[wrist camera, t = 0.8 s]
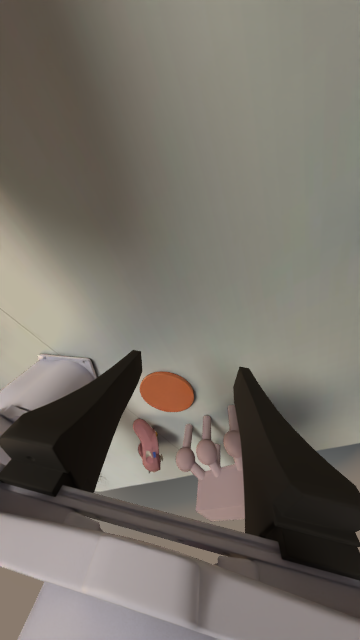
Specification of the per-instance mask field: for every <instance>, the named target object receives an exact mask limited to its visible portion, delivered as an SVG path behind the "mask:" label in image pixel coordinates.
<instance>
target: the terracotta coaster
mask: <svg viewBox="0 0 360 640" xmlns="http://www.w3.org/2000/svg"><path fill="white" fill-rule="evenodd" d="M140 393H141V396H142V397H143V399H144V400H145V401H146V402H147V403H148V404H149V405H151V406H152V407H154V408H156V409H159V410H162V411H166V412H179V411H183V410H185V409H187V408H189V407H190V406H191V405H192V403H193V400H194V391H193V388H192V386H191V385H190V384H189V382H188V381H186V380H185V379H184V378H182V377H181V376H179V375H176V374H173V373H170V372H154V373H151V374H149V375H147V376H146V377H145V378H144V379H143V380H142V382H141V385H140Z"/></svg>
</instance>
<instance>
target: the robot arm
mask: <svg viewBox="0 0 360 640" xmlns="http://www.w3.org/2000/svg"><path fill="white" fill-rule="evenodd" d="M37 357H38V359H39V361H37V362H36V363H35V364H33V365H32V366H31V367H30V368H28V369H27V370H26V371H24V372H23V373H22V374H21V375H19V376H18V377H17V378H16V379H14V380H13V381H12V382H10V383H9V384H8V385H7V386H5V387H4V388H3V389H2V390H1V392H0V566H1V567H3V568H6V569H9V570H12V571H15V572H18V573H21V574H24V575H27V576H30V577H33V578H36V579H39V580H41V581H44V584H43V586H42V589H41V591H40V593H39V595H38V597H37V599H36V601H35V604H34V606H33V608H32V610H31V612H30V614H29V616H28V618H27V621H26V623H25V625H24V627H23V629H22V631H21V633H20V636H19V637H18V640H360V552H359V550H358V548H357V547H360V542H359V540H358V538H357V536H356V533H355V532H357V531H359V530H360V493H359V491H358V489H357V488H356V486H355V485H354V484H352V483H351V482H350V481H349V480H348V479H347V478H346V477H344V476H343V475H342V474H341V473H340V472H339V471H337V470H336V469H335V468H334V467H333V466H331V465H330V464H329V463H328V462H327V461H326V460H325V459H324V458H323V457H322V456H320V455H319V454H318V453H317V452H316V451H315V450H314V449H313V448H312V447H311V446H310V445H309V444H308V443H307V442H306V441H305V440H304V439H303V438H302V437H301V436H300V435H299V434H298V433H297V432H296V431H295V430H294V429H293V428H292V427H291V425H290V424H289V423H288V422H287V421H286V420H285V419H284V417H283V416H282V415H281V414H280V413H279V411H278V410H277V409H276V408H275V406H274V405H273V404H272V402H271V401H270V400H269V398H268V397H267V395H266V394H265V392H264V391H263V390H262V388H261V387H260V385H259V384H258V382H257V380H256V379H255V377H254V376H253V374H252V372H251V371H250V369H249V368H244V367H239V370H238V374H237V377H236V380H235V383H234V387H233V388H234V403H235V410H236V416H237V421H238V427H239V433H240V440H241V452H242V466H243V483H244V506H245V533H243V532H239V531H235V530H232V529H227V528H224V527H220V526H216V525H213V524H209V523H205V522H201V521H197V520H193V519H190V518H186V517H182V516H178V515H174V514H170V513H167V512H163V511H159V510H155V509H152V508H148V507H144V506H140V505H136V504H133V503H129V502H125V501H121V500H117V499H114V498H110V497H106V496H102V495H99V494H95V493H94V491H95V488H96V484H97V481H98V478H99V475H100V472H101V469H102V466H103V464H104V461H105V458H106V455H107V452H108V449H109V447H110V444H111V441H112V439H113V436H114V434H115V431H116V428H117V426H118V423H119V421H120V418H121V416H122V414H123V412H124V410H125V408H126V406H127V404H128V402H129V400H130V398H131V396H132V394H133V392H134V390H135V388H136V386H137V384H138V382H139V379H140V376H141V373H142V360H141V351H136V350H133V351H131V352H130V353H129V354H128V355H126V356H125V357H124V358H123V359H122V360H120V361H119V362H118V363H117V364H115V365H114V366H113V367H111V368H110V369H109V370H107V371H106V372H105V373H103V374H102V375H100V376H99V377H98V378H97V376H96V374H95V371H94V368H93V365H92V362H91V360H90V359H88V358H79V357H68V356H58V355H47V354H39V355H38V356H37ZM85 516H86V517H85ZM88 517H89V518H88ZM90 518H93V519H97V520H100V521H104V522H108V523H111V524H114V525H118V526H122V527H125V528H129V529H133V530H136V531H139V532H143V533H147V534H150V535H154V536H157V537H161V538H164V539H168V540H171V541H175V542H178V543H182V544H185V545H189V546H193V547H196V548H200V549H203V550H207V551H211V552H214V553H218V554H221V555H225V556H228V557H225V556H219V557H218V563H217V564H214V565H212V564H210V563H207V562H205V561H202V560H199V559H197V558H194V557H191V556H188V555H185V554H182V553H180V552H177V551H174V550H171V549H167V548H164V547H161V546H158V545H154V544H151V543H147V542H144V541H140V540H136V539H132V538H128V537H124V536H120V535H115V534H110V533H105V532H103V531H102V530H101V528H100V524H99V522H96V521H94V520H92V519H90Z"/></svg>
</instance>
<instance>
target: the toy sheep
mask: <svg viewBox="0 0 360 640" xmlns="http://www.w3.org/2000/svg"><path fill="white" fill-rule="evenodd" d="M228 416H229V426H230V431H228V432H227V433H226V434H225V436H224V440H223V442H224V447H225V450H226V451H227V453H228V454H229V455H230V456H232V457H234V461H235V464H233V465H229V466H225V467H220V445H219V444H214V443H213V442H212V441H211V417H210V416H208V415H206V416H204V417H203V433H202V440H201V441H200V442H199V443H198V445H197V449H196V453H197V457H198V459H199V460H200V462H201V463H203V464H205V465H208V466H209V467H210V469H211V470H209V471H204V470H203V469H202V468H201V467H200V466H199V465H198V464H197V463H196V462H195V456H194V453H193V451H192V450H191V440H192V430H193V426H192V425H191V424H187V425H186V427H185V434H184V440H183V447H182V448H181V449H180V450H179V451H178V452H177V455H176V464H177V466H178V468H179V469H180V470H181V471H184V472H188V471H191V472H192V473H193V474H194V475H195V476H196V477H197V478H198V491H197V504H196V511H197V512H198V513H200V514H201V515H202V516H204V517H205V518H207V519H208V520H210V521H224V520H236V519H245V506H244V483H243V466H242V452H241V440H240V433H239V427H238V421H237V416H236V410H235V406H234V405H229V406H228Z"/></svg>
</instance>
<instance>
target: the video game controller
mask: <svg viewBox="0 0 360 640" xmlns="http://www.w3.org/2000/svg"><path fill="white" fill-rule="evenodd" d="M133 429H134V431H135V433H136V434H137V436H138V438H139V439H140V441H141V443H140V444H139V446H138V451H139V454H140V456H141V457H142V459H143V465H144V467H145V468H146V469H147V470H149V473H150V472H151V471H152V472H156V471H158V470H160V464H161V463H160V462H161V459H162V461H163V456H162V454H161V456H160V455H159V449H158V447H159V443H158V438H157V437H156V436H157V432H155V429H154V428H151V427H150V425H149V424H148V423H147V422H146V421H144V420H142V419H137V420H135V421H134V423H133Z"/></svg>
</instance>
